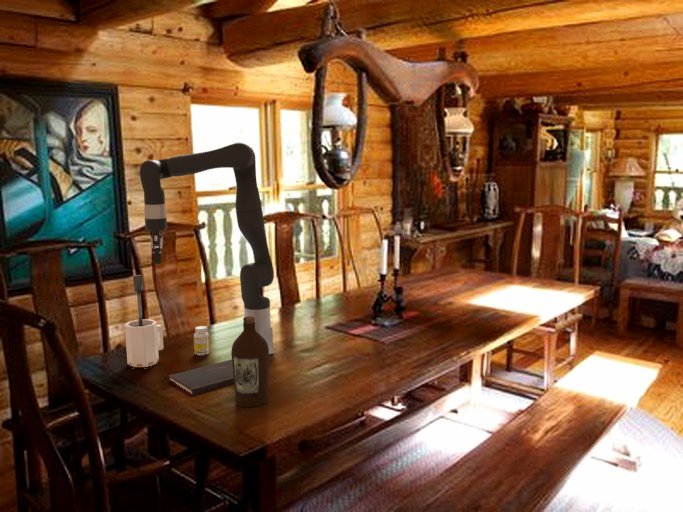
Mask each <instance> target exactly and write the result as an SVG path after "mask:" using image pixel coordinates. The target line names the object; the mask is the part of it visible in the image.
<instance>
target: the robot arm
mask: <svg viewBox="0 0 683 512" xmlns="http://www.w3.org/2000/svg"><path fill="white" fill-rule="evenodd" d="M256 165H257V164H256V153H255V152H254V149H253V148H252V147H251V146H250V145H248V144H246V143H244V142H239V141H238V142H233V143H231V144H229V145H226V146H222V147H220V148H217V149H212V150H208V151H204V152H203V151H202V152H197V153H189V154H183V155H176V156H172V157H169V158H163V159H152V160H151V159H150V160H145V161H143V162H142V164H141V165H140V167H139V177H140V182H141V186H142V190H143V202H144V209H143V214H144V229H145V231H147V232H152V234H151V236H150V241H151V248H152V253H153V258H154V265H159V264H160V265H161V264H162V257H163V254H162V253H163V252H162V249H163V237H164V236H163V234H162V231H166V230H167V229H168V221H167V220H168V219H167V218H168V217H167V208H166V207H167V206H166V198H165V197H166V195H165V190H164V188H162V185H161V184H162V183H161V180H164V179H169V178H173V177H174V178H175V177H182V176H183V177H184V176H189V175H196V174H198V173H202V172H206V171H209V170H213V169H222V168H227V169H231V168H232V170H233V175H234V177H235V179H234V180H235V183H236V193H235V213H236V215H235V216H236V222H237V227H238V229H239V231H240V232H241V235H242V236H243V237H244V238H245V240H246V241H247V243H248V244H249V246H250V247H251V250H252V254H253V259H254V262H250V263H246V264H244V265H243V266H241V269H240V271H239V282H240V283H239V285H240V294H241V299H242V302H243V312H244V313H243V314H244V317H248V316H252V317H254V318H255V320H254V322H255V330H256V331H257V332H258V333H259V334H260V335H261V336H262V337H263V338H264V339H265V340H266V342H267V344H268V348H269V356H270V355H272V354H274V334H273V333H274V329H273V328H272V325H271V301H270V298H269V297H267V296H262V295H261V289H260V288H264V287H269V286H271V284H272V283H273V281H274V278H275V271H274V266H273V262H272V258H271V254H270V253H271V252H270V250H269V245H268V241H267V235H266V229H265V219H264V214H263V213H264V211H263V206H262V200H261V196H260V192H259V191H260V190H259V188H258V181H257V171H256V170H257V168H256V167H257V166H256ZM244 317H243V318H244Z"/></svg>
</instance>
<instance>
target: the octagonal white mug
mask: <svg viewBox="0 0 683 512" xmlns="http://www.w3.org/2000/svg"><path fill="white" fill-rule="evenodd" d="M142 321H143V325H147V326H142V327H133V326H137V325H139V319H135V320H131V321H128V322H127V323H125V324H124V331H125V334H124V335H125V349H126V359H127V361H126V362H127V365H128V366H129V365H130V366H133V367H148V366H152V365H154V364H156V363H157V362H159V359H160V357H159V351H162V350H164V337H163V336H164V335H163V325H162V324H157V323H158V322H157V321H156V320H153V319H152V318H151V319H148V318H147V319H142ZM157 364H158V363H157Z"/></svg>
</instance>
